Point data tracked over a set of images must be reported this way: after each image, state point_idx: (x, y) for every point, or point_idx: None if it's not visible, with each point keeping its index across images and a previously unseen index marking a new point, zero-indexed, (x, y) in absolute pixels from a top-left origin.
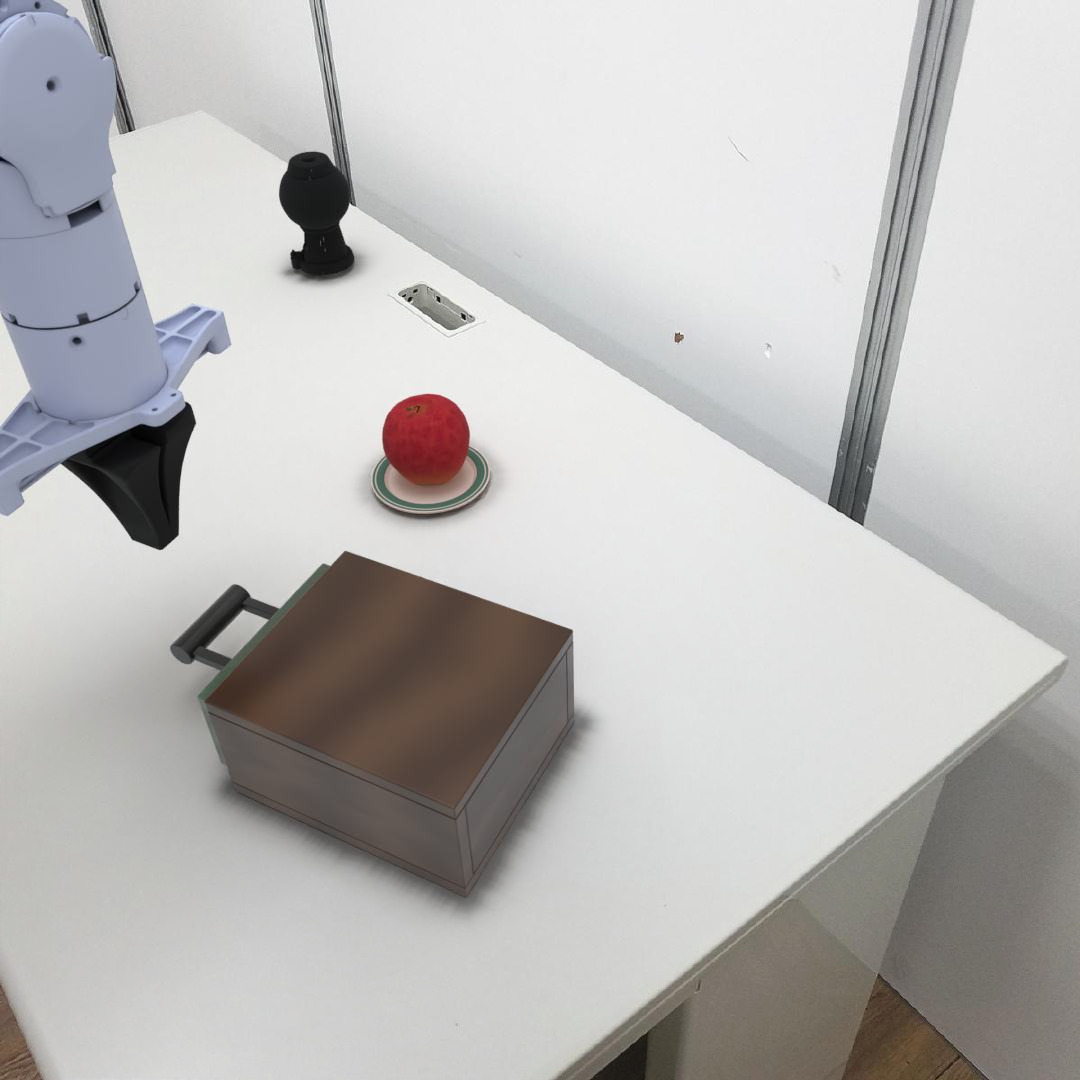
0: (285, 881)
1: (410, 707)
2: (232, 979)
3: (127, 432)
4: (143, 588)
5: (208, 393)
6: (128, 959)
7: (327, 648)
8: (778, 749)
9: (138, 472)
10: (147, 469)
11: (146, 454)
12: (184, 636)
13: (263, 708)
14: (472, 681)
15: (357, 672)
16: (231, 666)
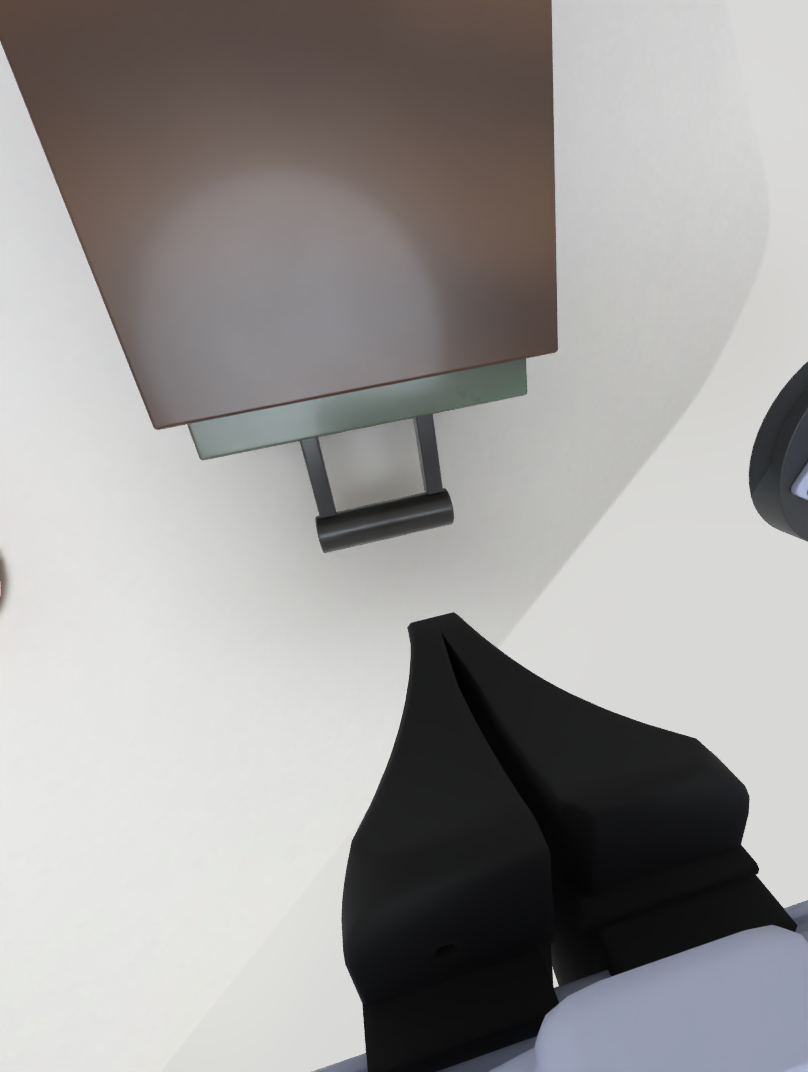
0: None
1: None
2: (655, 144)
3: (592, 913)
4: (340, 663)
5: (78, 870)
6: (675, 277)
7: (359, 248)
8: None
9: (640, 747)
10: (582, 748)
11: (647, 795)
12: (435, 518)
13: (526, 244)
14: None
15: (367, 134)
16: (460, 397)
